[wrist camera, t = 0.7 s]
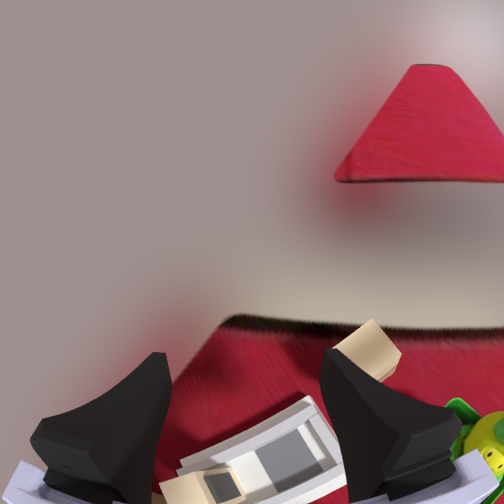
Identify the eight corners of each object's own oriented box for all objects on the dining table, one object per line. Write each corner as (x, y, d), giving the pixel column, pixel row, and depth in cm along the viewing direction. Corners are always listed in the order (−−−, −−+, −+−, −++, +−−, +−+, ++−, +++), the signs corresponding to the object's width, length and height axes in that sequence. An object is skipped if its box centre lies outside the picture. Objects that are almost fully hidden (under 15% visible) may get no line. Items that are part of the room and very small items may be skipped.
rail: (361, 473, 19) (358, 490, 13) (222, 531, 19) (177, 550, 13) (311, 396, 26) (290, 383, 20) (187, 459, 26) (136, 458, 19)
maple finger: (394, 371, 24) (401, 353, 19) (354, 401, 24) (350, 392, 19) (372, 343, 27) (372, 318, 22) (333, 371, 27) (323, 354, 22)
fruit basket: (386, 458, 19) (397, 475, 11) (449, 390, 20) (491, 363, 12) (452, 517, 12) (489, 551, 3) (512, 448, 13) (573, 443, 5)
